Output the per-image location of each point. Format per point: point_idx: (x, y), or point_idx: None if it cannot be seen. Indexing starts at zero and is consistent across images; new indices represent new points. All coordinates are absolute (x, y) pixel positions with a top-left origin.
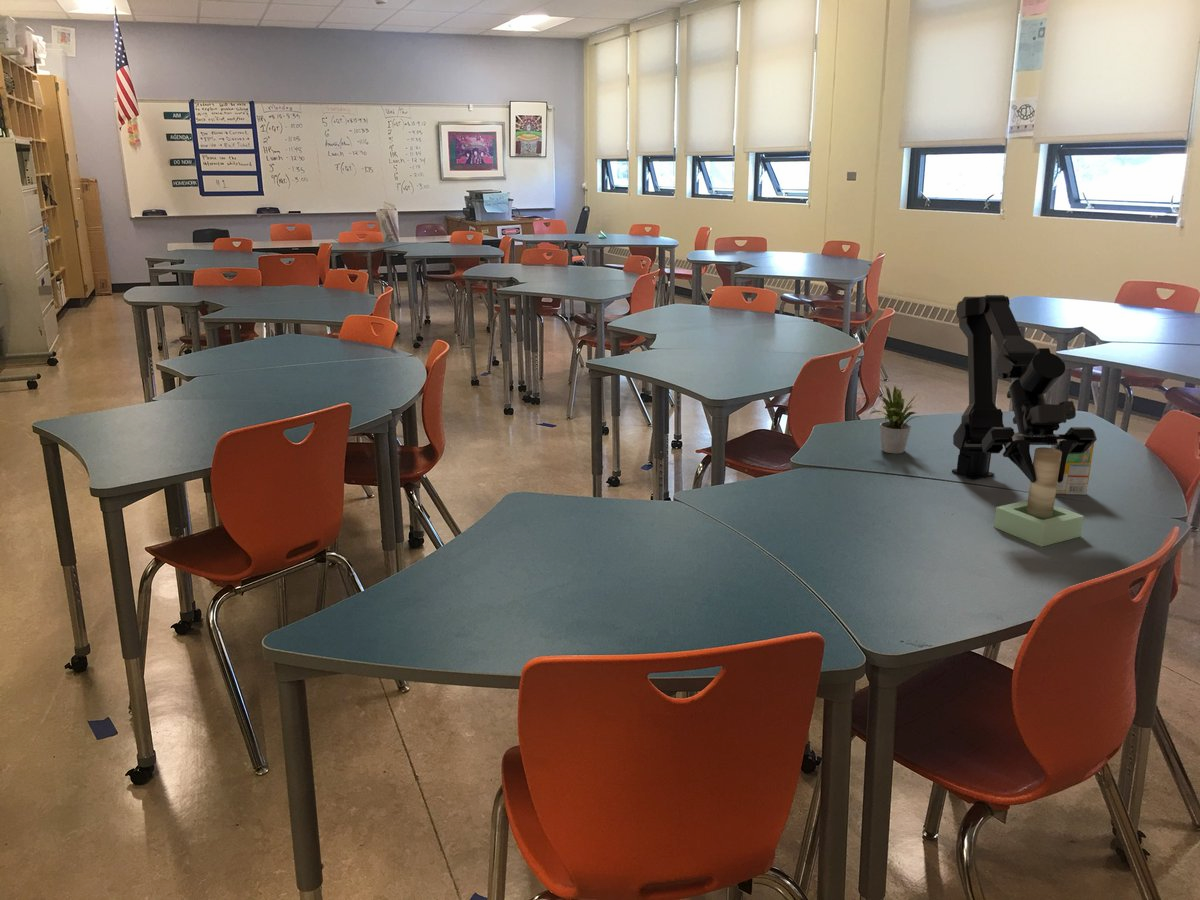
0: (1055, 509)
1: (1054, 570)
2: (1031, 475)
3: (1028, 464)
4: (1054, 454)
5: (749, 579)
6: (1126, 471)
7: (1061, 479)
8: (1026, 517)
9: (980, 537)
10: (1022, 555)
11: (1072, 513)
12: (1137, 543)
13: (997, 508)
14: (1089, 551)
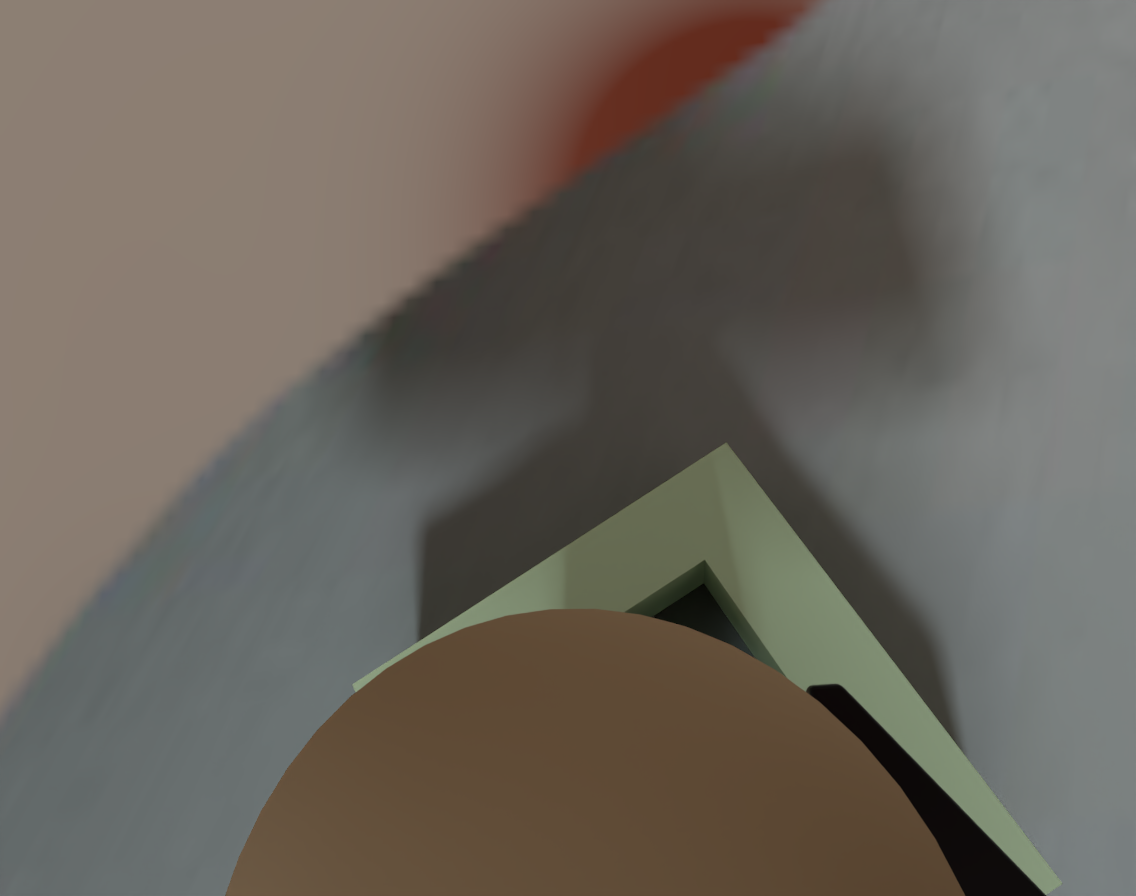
0: None
1: (745, 191)
2: (886, 742)
3: (1013, 884)
4: (523, 638)
5: None
6: None
7: None
8: (821, 608)
9: (1112, 609)
10: (870, 345)
11: None
12: (159, 601)
13: (1046, 866)
14: (469, 454)
